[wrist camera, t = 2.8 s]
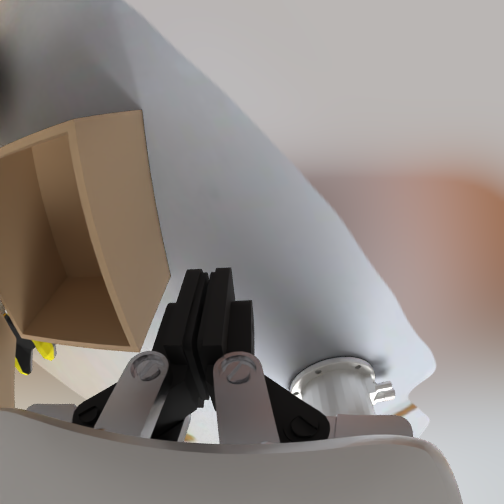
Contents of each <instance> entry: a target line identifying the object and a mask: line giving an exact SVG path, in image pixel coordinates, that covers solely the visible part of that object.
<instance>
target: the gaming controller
mask: <svg viewBox="0 0 504 504" xmlns="http://www.w3.org/2000/svg"><path fill="white" fill-rule="evenodd" d="M5 312H6V313H4V314H3V316H4V318H5V320H6V322H7V323H8V325H9V327H10V329H11V330H12V332H13V334H14V335H15V337H16V352H15V367H16V368H17V370H18V371H19V372H20V373H21V374H24V375H28V374H30V373H31V371H32V355H33V349H34V348H35V347H36V348H37V350H38V351H39V353H40V354H41V355H42V357H43V358H45V359H48V360H51V361H52V360H53V359H54V358H55V356H56V354H57V353H56V346H55V344H54V343H47V342H41V341H35V340H29V339H24V338H21V336H20V335H19V333H18V331H17V329H16V328H15V326H14V324H13V322H12V321H11V319H10V317H9V315H8V313H7V311H6V310H5Z"/></svg>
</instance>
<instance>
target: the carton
mask: <svg viewBox="0 0 504 504" xmlns="http://www.w3.org/2000/svg"><path fill="white" fill-rule="evenodd" d="M170 277H171V275H170V270H169V266H168V262H167V257H166V253H165V248H164V243H163V238H162V234H161V229H160V224H159V218H158V213H157V208H156V202H155V197H154V191H153V185H152V179H151V173H150V166H149V160H148V153H147V146H146V138H145V130H144V122H143V113H142V110H133V111H124V112H116V113H108V114H101V115H94V116H88V117H82V118H76V119H72V120H69V121H66V122H63V123H60V124H57V125H55V126H52V127H49V128H46V129H44V130H41V131H38V132H36V133H33V134H31V135H28V136H26V137H23V138H21V139H19V140H16V141H14V142H12V143H10V144H7V145H5V146H3V147H1V148H0V300H1V302H2V304H3V305H4V307H5V309H6V311H7V313H8V315H9V317H10V319H11V321H12V322H13V324H14V326H15V328H16V329H17V331H18V333H19V335H20V336H21V338H24V339H29V340H35V341H41V342H47V343H54V344H61V345H68V346H76V347H84V348H93V349H103V350H114V351H127V352H140V351H141V348H142V345H143V343H144V340H145V338H146V335H147V332H148V330H149V327H150V325H151V322H152V320H153V317H154V315H155V313H156V310H157V308H158V305H159V303H160V300H161V298H162V296H163V293H164V291H165V289H166V286H167V284H168V282H169V279H170Z"/></svg>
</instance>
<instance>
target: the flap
mask: <svg viewBox="0 0 504 504" xmlns="http://www.w3.org/2000/svg"><path fill="white" fill-rule="evenodd" d="M15 352H16V337H15V335H14V334H13V332H12V330H11V329H10V327H9V325H8V323H7V322H6V320H5V318H4V316H3V314H2V312H1V310H0V408H15V401H14V373H15V372H14V371H15Z"/></svg>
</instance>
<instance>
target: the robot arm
mask: <svg viewBox="0 0 504 504" xmlns="http://www.w3.org/2000/svg"><path fill="white" fill-rule="evenodd" d="M209 397H211V400H212V403H213V406H214V409H215V411H216V412H217V422H218V432H219V441H220V444H203V443H187V442H184V439H185V436H186V433H187V430H188V427H189V424H190V420H191V413H192V412H194V411H195V410H197V408H203V406H204V400H209ZM394 398H395V390H394V388H392V384H391V381H387V382H382V383H378V384H376V382H375V373H374V370H373V368H372V366H371V365H370V364H369V363H368V362H366V361H365V360H362V359H359V358H354V357H338V358H332V359H327V360H324V361H321V362H318V363H316V364H314V365H311V366H309V367H308V368H306V369H305V370H303V371H302V372H301V373H299V374H298V375H297V376H296V377H295V379H294V380H293V381H292V384H291V386H290V392H289V391H287V390H286V389H284V388H283V387H281V386H280V385H279V384H277V383H276V382H274V381H273V380H271V379H270V378H268V377H267V376H265V375H264V373H263V369H262V365H261V363H260V361H259V359H258V358H257V357H255V356H254V319H253V306H252V300H249V301H235V295H234V287H233V279H232V271H231V267H230V268H216V271H215V272H211V274H210V279H209V277H208V273H207V272H205V273H203V271H202V269H190V270H187V271H186V274H185V277H184V280H183V283H182V286H181V290H180V293H179V296H178V299H177V302H176V303H169V304H168V305H167V307H166V310H165V313H164V316H163V319H162V322H161V325H160V328H159V331H158V334H157V337H156V340H155V343H154V346H153V349H152V351H146V352H142V353H139V354H137V355H136V356H134V357H133V358H132V359H131V360H130V361H129V362H128V364H127V366H126V368H125V369H124V371H123V373H122V375H121V377H120V379H119V380H118V382H117V383H115V384H114V385H112V386H110V387H109V388H107V389H105V390H103V391H102V392H100V393H98V394H96V395H95V396H93V397H91V398H89V399H88V400H86V401H84V402H83V403H81V404H80V405H79V406H78V407H76V405H75V404H33V405H32V406H30V407H28V408H27V410H22V409H17V408H0V504H463V503H462V499H461V495H460V492H459V488H458V485H457V483H456V480H455V477H454V474H453V472H452V470H451V467H450V465H449V463H448V462H447V460H446V458H445V457H444V455H443V453H442V452H441V451H440V449H438V448H437V447H436V446H435V445H434V444H432V443H430V442H427V441H425V440H422V439H418V438H415V437H413V431H412V427H411V424H410V423H409V422H408V421H407V420H406V419H405V418H403V417H401V416H396V415H376V414H375V410H374V407H373V405H375V404H376V402H381V401H382V402H384V401H388V400H393V399H394Z"/></svg>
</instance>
